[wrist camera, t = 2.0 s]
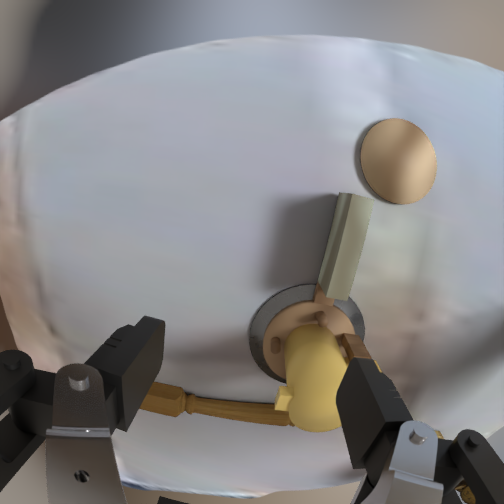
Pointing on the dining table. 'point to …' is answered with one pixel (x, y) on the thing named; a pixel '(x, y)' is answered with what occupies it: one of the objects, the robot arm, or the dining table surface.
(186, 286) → the dining table surface
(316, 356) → the cylinder with side tabs
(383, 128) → the coaster
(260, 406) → the tap handle
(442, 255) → the dining table surface
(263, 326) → the stand base
